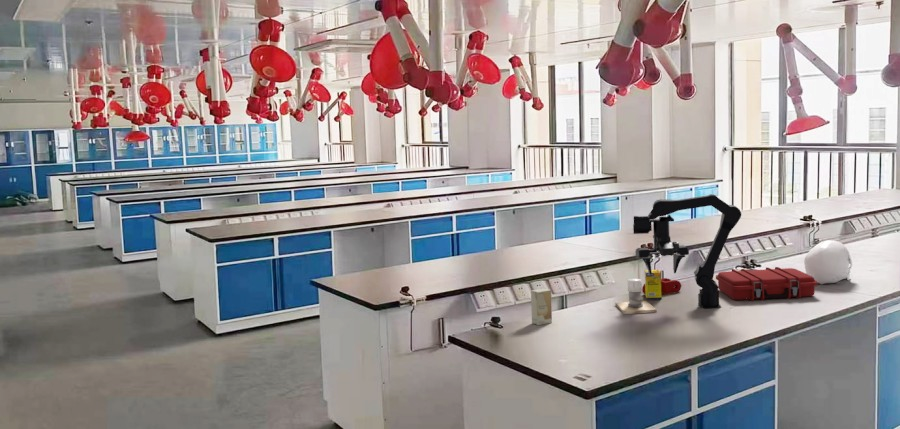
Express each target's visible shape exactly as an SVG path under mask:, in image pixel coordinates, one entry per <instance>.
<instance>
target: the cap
mask: <svg viewBox="0 0 900 429" xmlns="http://www.w3.org/2000/svg"><path fill="white" fill-rule="evenodd" d="M642 287H643V281H642V279H640V278H629V279H627V291H628V293H629V292H641V293H642V292H643V291H642Z"/></svg>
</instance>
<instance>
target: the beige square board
mask: <svg viewBox="0 0 900 429" xmlns="http://www.w3.org/2000/svg"><path fill="white" fill-rule="evenodd" d="M615 306H616V307H617V308H618V310H620V312H621V313H623V314H624V315H631V314H632V315H633V314H635V315H636V314H647V313H648V314H649V313H650V314H651V313H657V311H658V310H657V308H655V307H654V306H653V305H652V304H650V302H648V301H647V300H643V298H642V291H641V292H629V291H628V301H625V302H624V301H623V302H615Z"/></svg>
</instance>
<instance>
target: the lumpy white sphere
mask: <svg viewBox="0 0 900 429" xmlns="http://www.w3.org/2000/svg"><path fill="white" fill-rule="evenodd" d="M803 262H804V264H803V265H804V269H805V273H806V274H808V275H810V276H812V277H813V278H814V280H815V281H817V282H818V284H820V285H823V284H836V283H838V282H840V281H841V280H846V281H850V279H851V269H852V266H853V261H852V257H851V254H850V251H849V250H848V249H847V247H846V246H845V245H844V244H843V242H841V241H838V240H833V239H828V240H823V241H821V242H819V243H817V244H816V245H814V246H813V247H812V248H811V249H809V251H808V252H807V253H806V254H805V256H804V260H803Z"/></svg>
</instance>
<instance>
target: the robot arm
mask: <svg viewBox="0 0 900 429" xmlns="http://www.w3.org/2000/svg"><path fill="white" fill-rule="evenodd" d="M709 206H710V207H713V208H714V209H716V210H717V211H718V212H720V213H721V217H720V222H719V223H720V224H719V228H718V230H717V232H716V234H715V237H714V239H713V241H712V243H711V245H710V248H709V251H708V253H707V255H706V257H705V259H704V261H703V263H702V264H700V263H697V264H696V269H695V270H694V271H693V274H694V280H695V282H696V285H697V286H698V287H700V289H699V293H698V294H697V297H698V301H697V302H698V303H697V304H698V305H699V306H700V307H701V308H703V309H710V308H711V309H713V308H714V309H715V308H722V305H721V304H720V290H719V288H718V284H717V283H718V282H717V281H715V280H714V275H715V269H716V265H717V262H718V260H719V258H720V255H721V253H722V251H723V249H724V246H725V245H726V242H727V240H728V237H729V235H730V233H731V231H732V230H733V229H734V228H735V226H736V225H737V223H739V220H740V219H741V218H742V212H741V210H740V208H738V207H737V205H734V204H728V203H726V202H725V201H723V200H722V199H720V198H719V197H718V196H717V195H715V194H713V193H711V194H708V195H707V194H706V195H701V196H695V197H688V198H682V199H665V198H664V199H663V198H662V199H661V198H660V199H656V200H655V201H654V202H653V204H652V209H651V211H650V212H649V213H648V215H642V216H641V215H633V225H632V226H633V228H632V229H633V235H643V234H644V235H645V234H646V235H647V234H650V232H652V229H653V235H652V238H653V246H652V247H653V249H648V248H647V247H637V248H636V249H635V257H636V256H637V257H638V258H639V259H641V260H642V261H643V262H644V264H645V267H646V270H648V271H649V274H650V275H651V272H652V271H651V270H652V266H651V265H652V264H651V257H650V255H651V256H652V255H653V256H654V255H660V256H662V257H667V256H672V257H673V259H672V262H673V263H672V264H673V266H672V267H673V268H672V269H673V274H677V270H678V268H679V264H680V263H681V260H683V258H686V256H689V255H690V249H689V248H688V247H687V246H685V245H680V242H679V241H671V236H670V222H674V221H675V219H674V218H673V217H672V216H671V214H673V213H676V212H678V211H683V210H690V209H696V208H697V209H698V208H704V207H709ZM657 218H658V219H657ZM652 223H653V224H652ZM652 226H653V228H652Z"/></svg>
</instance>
